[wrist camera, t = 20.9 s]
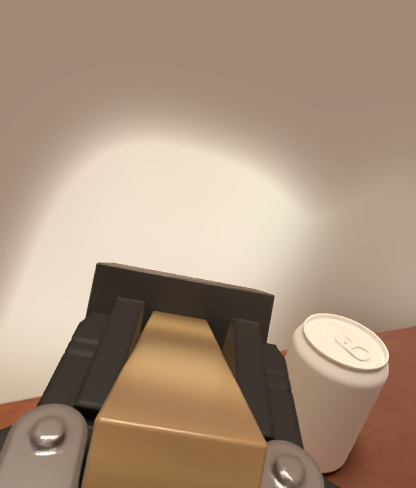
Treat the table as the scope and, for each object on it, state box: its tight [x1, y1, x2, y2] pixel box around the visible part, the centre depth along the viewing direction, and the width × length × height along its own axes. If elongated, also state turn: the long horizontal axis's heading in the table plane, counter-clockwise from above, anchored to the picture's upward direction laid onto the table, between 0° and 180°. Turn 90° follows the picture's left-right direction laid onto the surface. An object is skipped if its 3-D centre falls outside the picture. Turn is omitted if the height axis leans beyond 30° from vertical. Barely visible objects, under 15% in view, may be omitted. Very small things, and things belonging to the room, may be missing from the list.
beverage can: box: [285, 313, 389, 473], centre depth 35 cm, size 8×8×12 cm
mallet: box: [81, 263, 274, 488], centre depth 13 cm, size 16×8×4 cm, turn 179°
